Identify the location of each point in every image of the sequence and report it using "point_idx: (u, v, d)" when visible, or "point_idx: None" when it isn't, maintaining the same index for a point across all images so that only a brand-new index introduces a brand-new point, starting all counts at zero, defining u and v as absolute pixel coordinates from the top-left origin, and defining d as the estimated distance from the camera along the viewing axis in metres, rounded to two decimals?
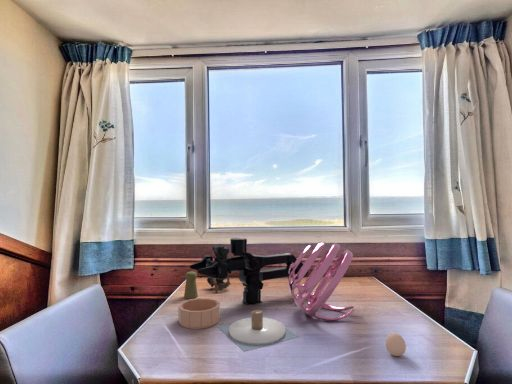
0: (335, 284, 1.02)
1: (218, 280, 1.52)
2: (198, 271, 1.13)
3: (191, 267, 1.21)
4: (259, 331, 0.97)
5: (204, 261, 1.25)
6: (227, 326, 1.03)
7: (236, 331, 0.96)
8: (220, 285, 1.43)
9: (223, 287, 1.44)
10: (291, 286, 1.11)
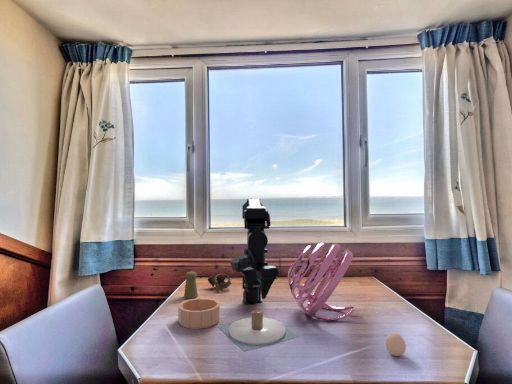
0: (335, 284, 1.02)
1: (219, 280, 1.52)
2: (263, 297, 0.95)
3: (250, 289, 1.04)
4: (259, 331, 0.97)
5: (245, 272, 1.03)
6: (227, 326, 1.03)
7: (236, 332, 0.96)
8: (221, 285, 1.44)
9: (224, 287, 1.44)
10: (291, 286, 1.11)
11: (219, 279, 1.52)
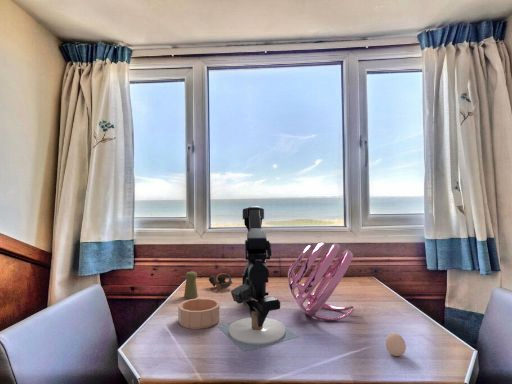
0: (335, 284, 1.02)
1: (220, 279, 1.53)
2: (260, 326, 0.97)
3: None
4: (259, 331, 0.97)
5: (249, 303, 1.01)
6: (227, 326, 1.03)
7: (236, 331, 0.96)
8: (222, 284, 1.44)
9: (225, 286, 1.45)
10: (291, 286, 1.11)
11: (220, 279, 1.53)
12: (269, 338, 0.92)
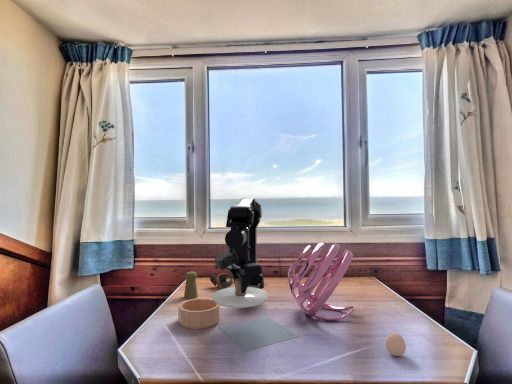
0: (335, 284, 1.02)
1: (221, 279, 1.53)
2: (243, 292, 1.00)
3: None
4: (242, 296, 1.00)
5: (233, 271, 1.04)
6: (227, 326, 1.03)
7: (220, 297, 0.99)
8: (223, 284, 1.45)
9: (226, 286, 1.46)
10: (291, 286, 1.11)
11: (221, 278, 1.53)
12: (251, 302, 0.94)
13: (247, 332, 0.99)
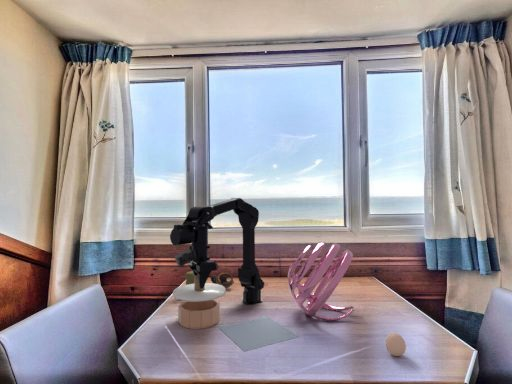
0: (335, 284, 1.02)
1: (221, 279, 1.54)
2: (201, 287, 1.07)
3: None
4: (200, 292, 1.06)
5: (193, 268, 1.10)
6: (227, 326, 1.03)
7: (179, 292, 1.06)
8: (224, 284, 1.46)
9: (227, 286, 1.46)
10: (291, 286, 1.11)
11: (221, 278, 1.54)
12: (206, 296, 1.01)
13: (247, 332, 0.99)
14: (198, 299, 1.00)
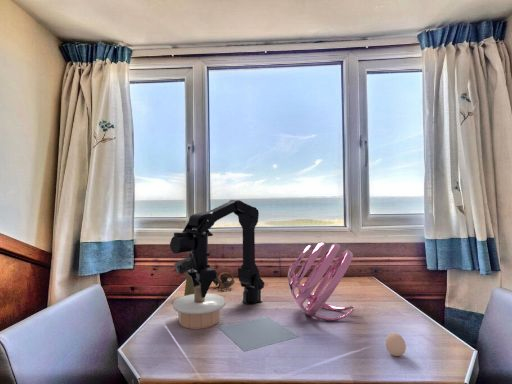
0: (335, 284, 1.02)
1: (222, 279, 1.54)
2: (203, 296, 1.05)
3: None
4: (200, 303, 1.06)
5: (192, 274, 1.12)
6: (227, 326, 1.03)
7: (179, 304, 1.06)
8: (225, 283, 1.46)
9: (228, 285, 1.47)
10: (291, 286, 1.11)
11: (222, 278, 1.54)
12: (206, 308, 1.01)
13: (247, 332, 0.99)
14: (198, 311, 1.00)
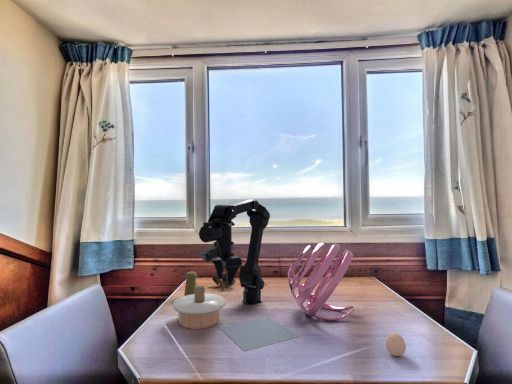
0: (335, 284, 1.02)
1: (223, 278, 1.55)
2: (229, 284, 1.09)
3: (220, 277, 1.18)
4: (200, 303, 1.06)
5: (215, 262, 1.17)
6: (227, 326, 1.03)
7: (179, 304, 1.06)
8: (226, 283, 1.47)
9: (229, 285, 1.47)
10: (291, 286, 1.11)
11: (223, 278, 1.55)
12: (206, 308, 1.01)
13: (247, 332, 0.99)
14: (198, 311, 1.00)
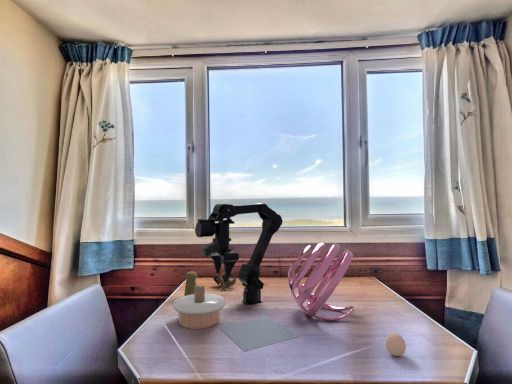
0: (335, 284, 1.02)
1: (224, 278, 1.56)
2: (227, 277, 1.17)
3: (218, 271, 1.26)
4: (200, 303, 1.06)
5: (214, 257, 1.26)
6: (227, 326, 1.03)
7: (179, 304, 1.06)
8: (227, 283, 1.47)
9: (230, 284, 1.48)
10: (291, 286, 1.11)
11: (224, 277, 1.55)
12: (206, 308, 1.01)
13: (247, 332, 0.99)
14: (198, 311, 1.00)
